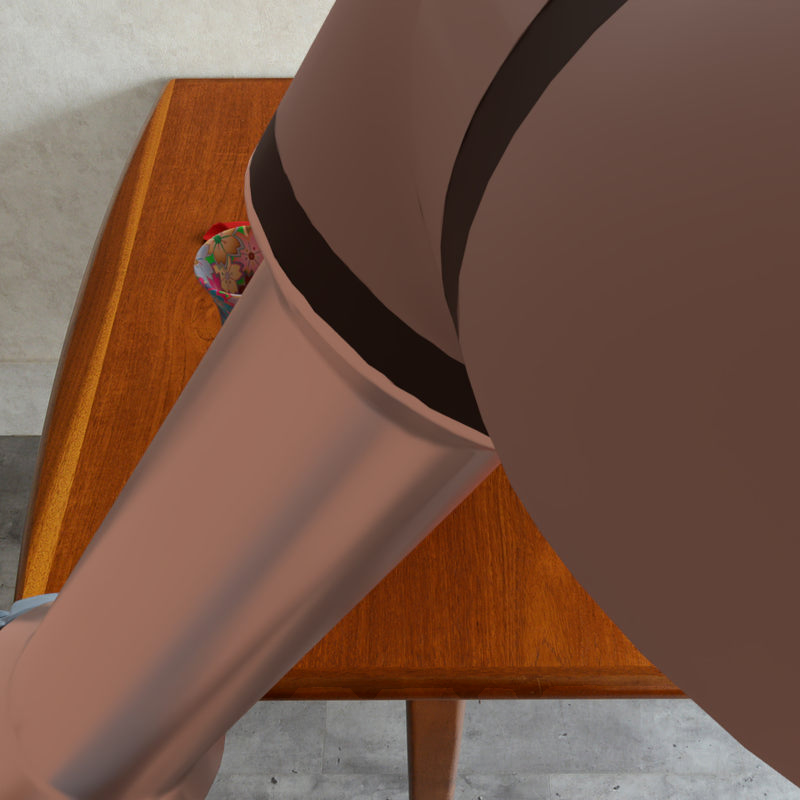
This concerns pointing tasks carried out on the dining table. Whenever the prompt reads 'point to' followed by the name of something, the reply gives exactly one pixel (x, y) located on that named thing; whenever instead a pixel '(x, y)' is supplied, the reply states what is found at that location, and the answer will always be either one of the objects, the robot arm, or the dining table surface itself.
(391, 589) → the dining table surface
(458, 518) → the dining table surface
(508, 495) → the dining table surface
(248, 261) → the mug
